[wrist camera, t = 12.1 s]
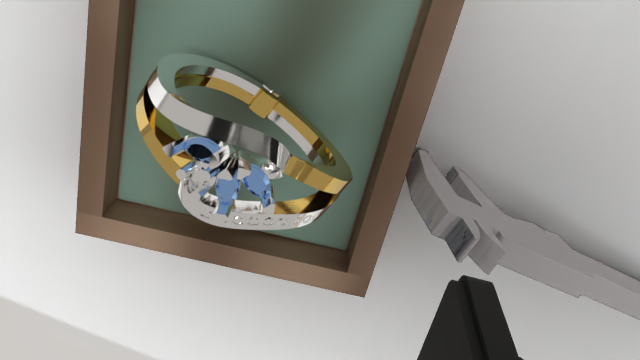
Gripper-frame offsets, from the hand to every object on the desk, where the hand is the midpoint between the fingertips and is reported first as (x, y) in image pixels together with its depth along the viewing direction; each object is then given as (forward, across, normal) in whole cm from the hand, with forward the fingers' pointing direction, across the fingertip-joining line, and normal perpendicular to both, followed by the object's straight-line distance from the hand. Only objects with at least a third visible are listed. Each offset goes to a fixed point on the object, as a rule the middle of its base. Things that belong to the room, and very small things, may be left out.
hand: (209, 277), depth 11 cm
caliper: (+14, -15, +4) cm, 21 cm away
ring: (+12, +1, 0) cm, 12 cm away
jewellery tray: (+12, +1, 0) cm, 12 cm away
